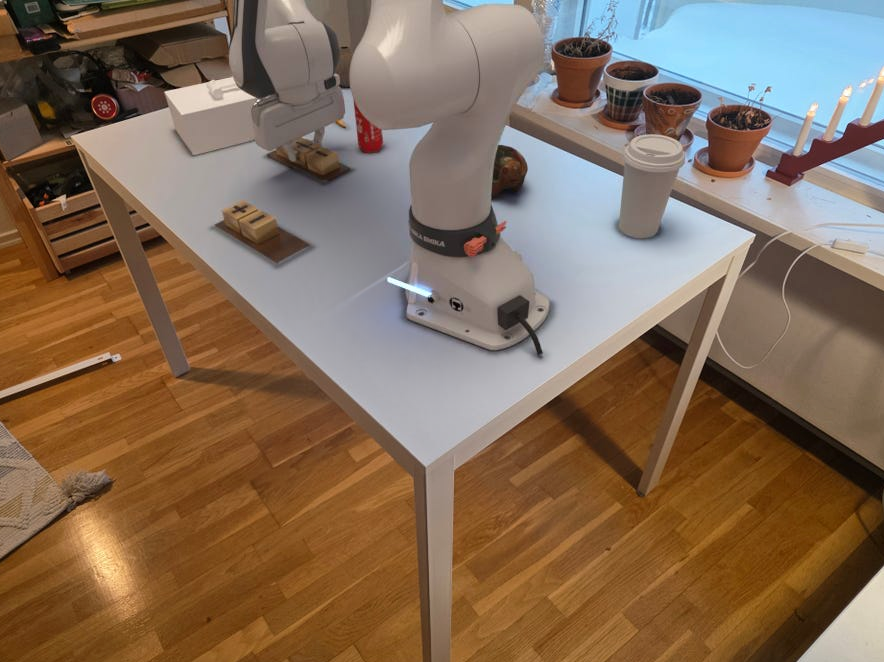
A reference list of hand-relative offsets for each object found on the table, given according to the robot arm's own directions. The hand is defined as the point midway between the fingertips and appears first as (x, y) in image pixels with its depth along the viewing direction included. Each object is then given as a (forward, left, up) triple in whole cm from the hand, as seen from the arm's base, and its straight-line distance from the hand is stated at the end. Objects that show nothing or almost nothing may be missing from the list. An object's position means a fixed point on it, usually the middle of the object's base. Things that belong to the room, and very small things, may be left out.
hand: (306, 154), depth 131 cm
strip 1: (-15, +23, -2) cm, 28 cm away
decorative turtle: (-36, -17, -2) cm, 40 cm away
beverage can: (-5, -13, -2) cm, 14 cm away
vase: (+25, -34, -2) cm, 42 cm away
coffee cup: (-63, -21, -2) cm, 67 cm away
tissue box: (+25, -1, -2) cm, 25 cm away
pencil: (+10, -17, -2) cm, 20 cm away
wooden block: (0, 0, -1) cm, 1 cm away
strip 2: (0, 0, -2) cm, 2 cm away
